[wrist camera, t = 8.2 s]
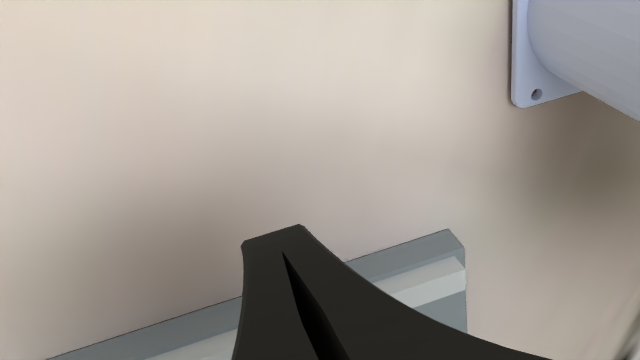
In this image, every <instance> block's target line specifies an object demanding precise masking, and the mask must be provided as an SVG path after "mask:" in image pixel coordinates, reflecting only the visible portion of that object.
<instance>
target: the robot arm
mask: <svg viewBox="0 0 640 360" xmlns="http://www.w3.org/2000/svg"><path fill="white" fill-rule="evenodd" d="M536 89H537V92H536V94H535V95H534V96H532V97H531V95H532V93H533V91H534V90H536ZM581 91H584V92H586V93H588V94H590V95H591V96H593V97H595V98H597V99H599V100H600V101H602V102H604V103H606V104H608V105H610V106H611V107H613V108H615V109H617V110H619V111H620V112H622V113H624V114H626V115H628V116H629V117H631V118H633V119H635V120H637V121H638V122H640V0H513V17H512V71H511V100H512V103H513V104H514V105H516V106H517V107H519V108H527V107H530V106H534V105H537V104H541V103H544V102H547V101H551V100H554V99H558V98H561V97H564V96H568V95H571V94H574V93H578V92H581ZM241 250H242V254H243V264H244V280H243V294H242V305H241V313H240V319H239V324H238V330H237V336H236V341H235V346H234V350H233V354H232V358H231V360H551V359H548V358H544V357H540V356H536V355H532V354H528V353H525V352H521V351H517V350H513V349H510V348H506V347H503V346H500V345H497V344H494V343H491V342H488V341H485V340H482V339H479V338H477V337H474V336H471V335H469V334H467V333H464V332H462V331H459V330H457V329H455V328H452V327H450V326H447V325H445V324H443V323H440V322H438V321H436V320H434V319H432V318H430V317H428V316H426V315H424V314H422V313H420V312H418V311H416V310H415V309H413V308H411V307H409V306H407V305H405V304H404V303H402V302H400V301H399V300H397V299H395V298H394V297H392V296H390V295H389V294H387V293H386V292H384V291H383V290H381V289H380V288H378V287H377V286H375V285H374V284H372V283H371V282H369V281H368V280H366V279H365V278H364V277H362V276H361V275H359V274H358V273H357V272H355V271H354V270H353V269H352V268H350V267H349V266H348V265H346V264H345V263H344V262H342V261H341V260H340V259H339V258H338V257H336V256H335V255H334V254H333V253H332V252H331V251H329V250H328V249H327V248H326V247H325V246H324V245H323V244H321V243H320V242H319V241H318V240H317V239H316V238H315V237H314V236H313V235H312V234H311V233H310V232H309V231H308V230H307V229H306V228H305V227H304V226H302V225H300V224H297V225H294V226H291V227H287V228H284V229H281V230H278V231H274V232H271V233H268V234H265V235H262V236H258V237H255V238H252V239H249V240H245V241H244V242H243V244H242V245H241Z"/></svg>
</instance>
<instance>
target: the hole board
mask: <svg viewBox="0 0 640 360" xmlns="http://www.w3.org/2000/svg"><path fill="white" fill-rule="evenodd" d="M345 264H346V265H348V266H349V267H350V268H352V269H353V270H354V271H355V272H357V273H358V274H359V275H361V276H362V277H364V278H365V279H366V280H368V281H369V282H371V283H372V284H374V285H375V286H377V287H378V288H380V289H381V290H383V291H384V292H386V293H387V294H389V295H390V296H392V297H394V298H395V299H397V300H399V301H400V302H402V303H404V304H405V305H407V306H409V307H411V308H413V309H415V310H416V311H418V312H420V313H422V314H424V315H426V316H428V317H430V318H432V319H434V320H436V321H438V322H440V323H443V324H445V325H447V326H450V327H452V328H455V329H457V330H459V331H462V332H464V333H467V318H466V273H465V253H464V246H463V245H462V244H461V243H460V242H459V240H458V239H457V238H456V237H455V236H454V235H453V233H452V232H451V231H450V230H449V229H446V230H443V231H440V232H437V233H434V234H431V235H428V236H425V237H422V238H419V239H416V240H413V241H410V242H407V243H404V244H400V245H397V246H394V247H391V248H388V249H385V250H382V251H379V252H376V253H373V254H370V255H367V256H364V257H361V258H358V259H354V260H351V261H348V262H345ZM241 305H242V296H241V297H238V298H235V299H232V300H229V301H226V302H223V303H220V304H217V305H214V306H210V307H207V308H204V309H201V310H198V311H195V312H192V313H189V314H186V315H183V316H180V317H177V318H174V319H171V320H168V321H165V322H161V323H158V324H155V325H152V326H149V327H146V328H143V329H140V330H137V331H134V332H131V333H128V334H125V335H122V336H119V337H115V338H112V339H109V340H106V341H103V342H100V343H97V344H94V345H91V346H88V347H85V348H82V349H79V350H76V351H73V352H70V353H66V354H63V355H60V356H57V357H54V358H51V359H48V360H231V358H232V354H233V350H234V346H235V341H236V336H237V330H238V324H239V319H240V313H241Z"/></svg>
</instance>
